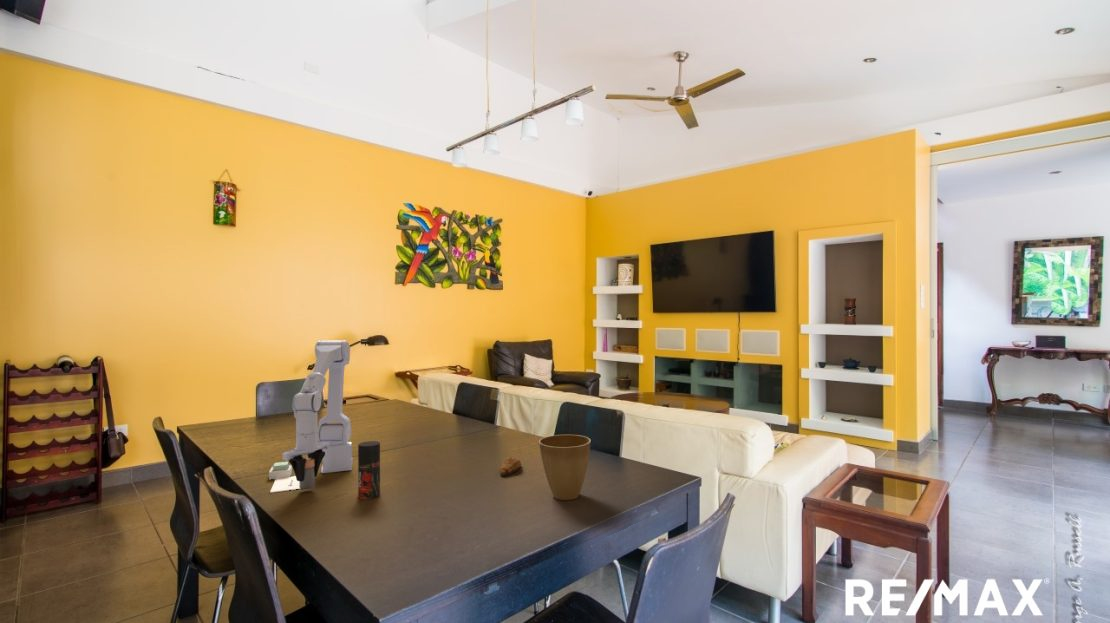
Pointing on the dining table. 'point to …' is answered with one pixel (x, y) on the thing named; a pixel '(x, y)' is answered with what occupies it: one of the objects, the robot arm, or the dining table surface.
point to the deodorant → (368, 469)
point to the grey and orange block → (308, 474)
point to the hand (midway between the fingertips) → (306, 478)
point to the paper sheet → (285, 484)
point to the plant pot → (565, 463)
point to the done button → (280, 466)
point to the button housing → (280, 473)
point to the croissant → (509, 466)
